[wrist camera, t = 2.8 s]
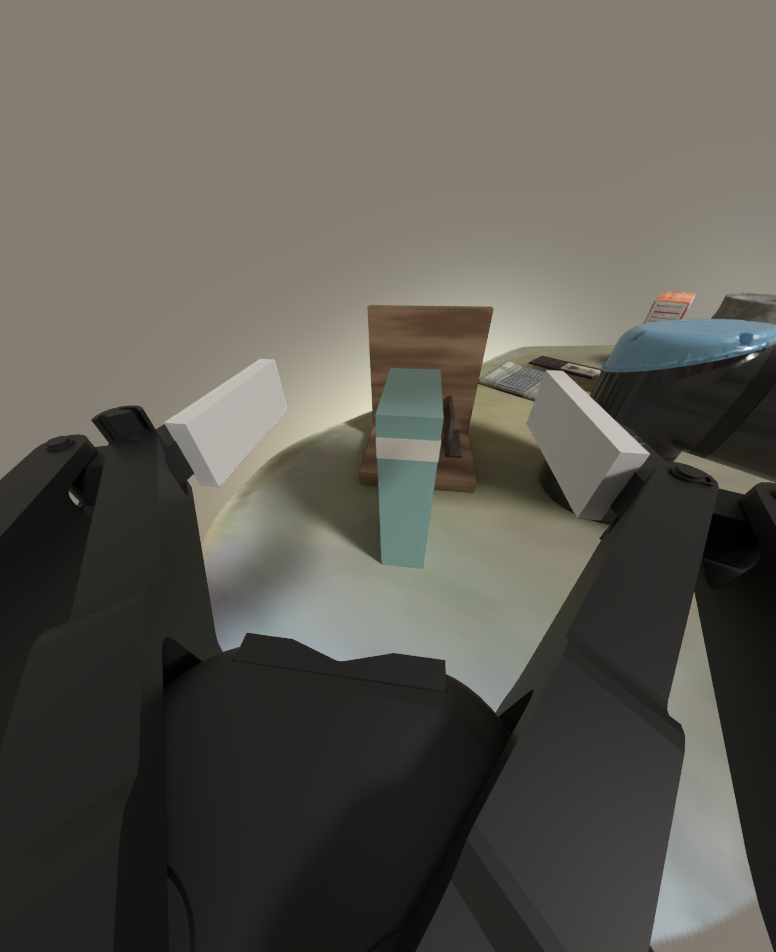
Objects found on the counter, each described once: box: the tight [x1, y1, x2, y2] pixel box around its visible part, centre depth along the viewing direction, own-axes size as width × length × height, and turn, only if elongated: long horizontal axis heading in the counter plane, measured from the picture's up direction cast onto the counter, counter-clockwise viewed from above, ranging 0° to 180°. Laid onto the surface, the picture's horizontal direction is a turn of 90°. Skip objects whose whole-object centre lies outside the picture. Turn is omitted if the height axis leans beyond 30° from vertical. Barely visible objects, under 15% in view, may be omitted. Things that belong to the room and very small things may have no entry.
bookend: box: [444, 395, 462, 458], centre depth 47 cm, size 9×3×7 cm, turn 173°
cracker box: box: [643, 292, 696, 324], centre depth 64 cm, size 14×6×21 cm, turn 137°
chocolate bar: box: [529, 356, 602, 379], centre depth 85 cm, size 9×1×18 cm
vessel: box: [711, 293, 776, 344], centre depth 67 cm, size 22×22×20 cm
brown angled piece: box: [359, 305, 493, 493], centre depth 43 cm, size 18×18×22 cm
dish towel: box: [479, 361, 545, 401], centre depth 75 cm, size 19×18×3 cm
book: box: [375, 368, 444, 568], centre depth 30 cm, size 5×10×20 cm, turn 173°
